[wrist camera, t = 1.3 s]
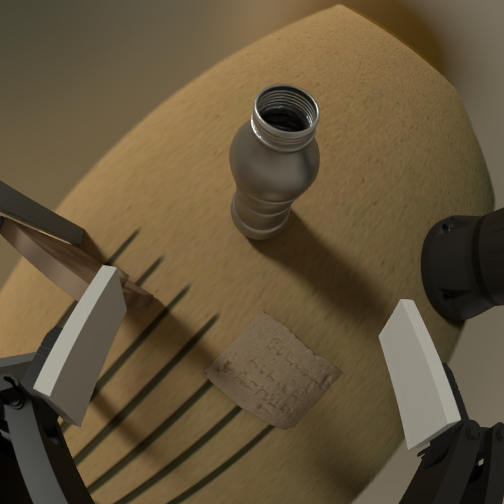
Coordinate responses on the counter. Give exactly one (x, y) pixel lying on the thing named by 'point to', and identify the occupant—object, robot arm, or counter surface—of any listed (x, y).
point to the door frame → (47, 221)
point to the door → (65, 263)
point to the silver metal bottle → (273, 159)
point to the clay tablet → (272, 373)
